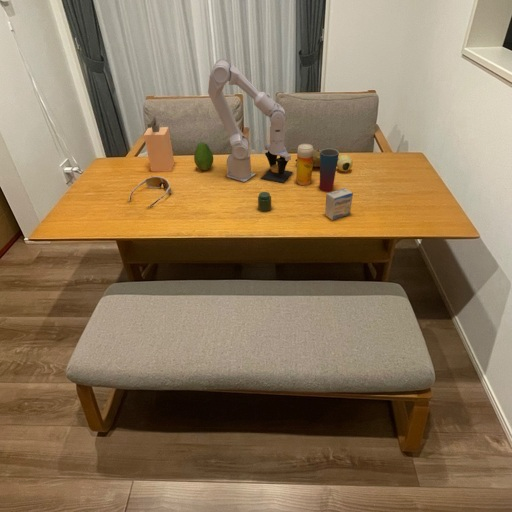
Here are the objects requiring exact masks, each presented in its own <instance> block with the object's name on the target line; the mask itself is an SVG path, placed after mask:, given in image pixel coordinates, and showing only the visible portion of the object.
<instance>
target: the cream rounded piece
mask: <svg viewBox="0 0 512 512" xmlns="http://www.w3.org/2000/svg"><path fill="white" fill-rule="evenodd" d="M353 163H354V162H353V159H352V158H351V156H349V155H347V154H343V155H339V156H338V161H337V167H336V169H338V170H339V171H340V172H348V171H349V170H351V168H352V167H353Z"/></svg>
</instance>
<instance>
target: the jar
mask: <svg viewBox="0 0 512 512" xmlns="http://www.w3.org/2000/svg"><path fill="white" fill-rule="evenodd" d="M257 210H258V211H260V212H264V213H266V212H269V211H271V210H272V195H271V193H270V192H268V191H261V192H259V194H258V196H257Z"/></svg>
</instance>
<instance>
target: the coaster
mask: <svg viewBox="0 0 512 512" xmlns="http://www.w3.org/2000/svg"><path fill="white" fill-rule="evenodd" d="M293 173H294V172H293V171H290V170H286V169H285V170H284V173H283V174H279V173H275V172H272V171H271V168H270V167H269V169H268V170H267V171H266V172H265V173H264V174H263V176H262V177H261V178H260V179H261V180H264V181H270V182H274V183H279V184H285V183H286V182H287V181H288V180H289V178H290V177H291V176H292V175H293Z"/></svg>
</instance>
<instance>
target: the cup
mask: <svg viewBox="0 0 512 512" xmlns="http://www.w3.org/2000/svg"><path fill="white" fill-rule="evenodd" d="M320 150H321V151H320V167H319V191H322V192H326V193H330V192H333V189H334V184H335V178H336V172H337V161H338V158H339V157H340V155H339V154H340V151H339V150H338V149H335V148H331V147H327V148H322V149H320Z"/></svg>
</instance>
